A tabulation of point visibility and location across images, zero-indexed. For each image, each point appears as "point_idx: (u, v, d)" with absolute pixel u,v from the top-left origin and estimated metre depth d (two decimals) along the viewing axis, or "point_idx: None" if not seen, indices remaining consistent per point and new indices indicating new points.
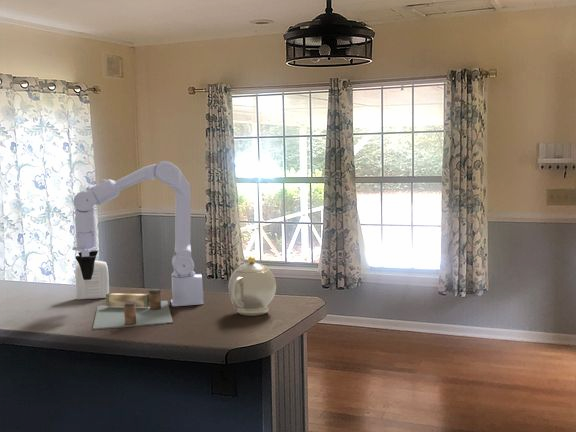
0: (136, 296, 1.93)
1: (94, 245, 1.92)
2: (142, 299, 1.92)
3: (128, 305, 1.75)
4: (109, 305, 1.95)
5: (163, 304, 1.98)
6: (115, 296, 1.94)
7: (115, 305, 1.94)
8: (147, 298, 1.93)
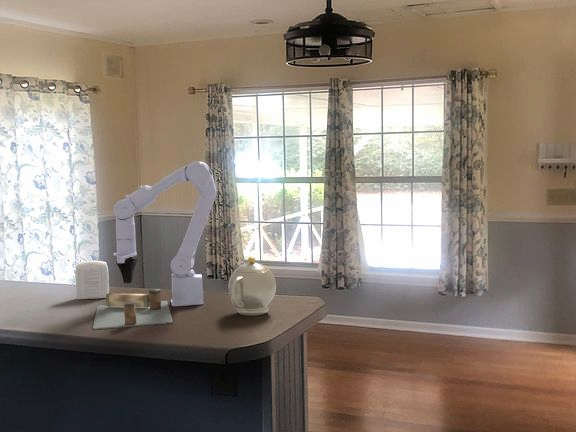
0: (136, 296, 1.93)
1: (132, 252, 1.97)
2: (142, 299, 1.92)
3: (128, 305, 1.75)
4: (109, 305, 1.95)
5: (163, 304, 1.98)
6: (115, 296, 1.94)
7: (115, 305, 1.94)
8: (147, 298, 1.93)
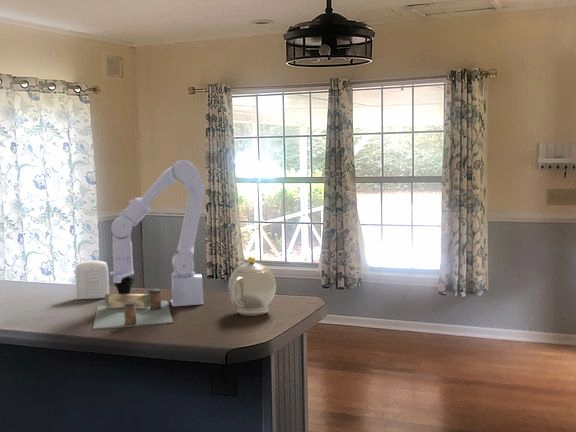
0: (136, 296, 1.93)
1: (129, 271, 1.94)
2: (142, 299, 1.92)
3: (128, 305, 1.75)
4: (108, 305, 1.94)
5: (163, 304, 1.98)
6: (114, 296, 1.94)
7: (114, 305, 1.94)
8: (147, 298, 1.93)
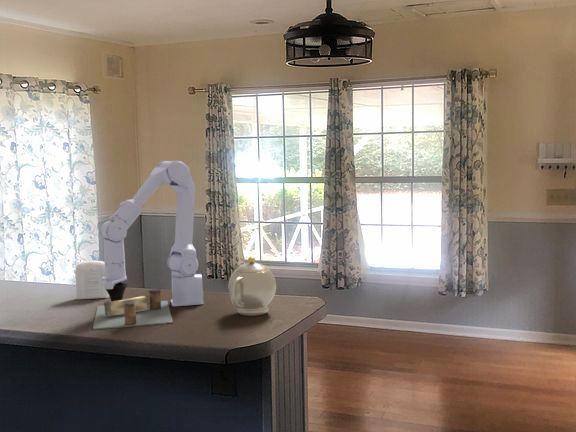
0: (139, 299, 1.89)
1: (122, 276, 1.86)
2: (145, 301, 1.90)
3: (128, 305, 1.75)
4: (111, 314, 1.83)
5: (163, 304, 1.98)
6: (117, 303, 1.84)
7: (117, 313, 1.85)
8: None
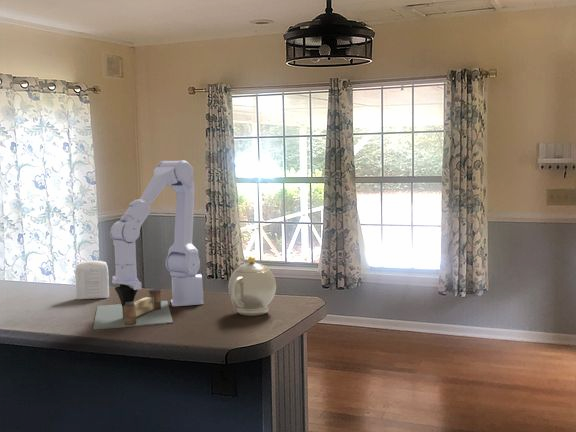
0: (148, 300, 1.87)
1: (136, 277, 1.83)
2: (151, 301, 1.89)
3: (128, 305, 1.75)
4: None
5: (163, 304, 1.98)
6: None
7: None
8: None
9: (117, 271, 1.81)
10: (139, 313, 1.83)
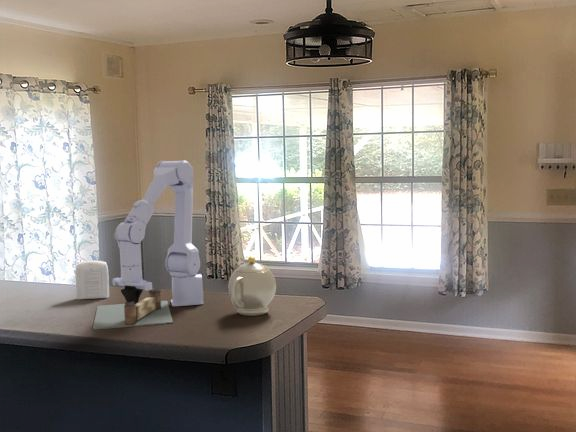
0: (151, 300, 1.87)
1: (141, 278, 1.83)
2: (153, 301, 1.89)
3: (128, 305, 1.75)
4: (139, 317, 1.79)
5: (163, 304, 1.98)
6: (141, 306, 1.81)
7: (142, 316, 1.81)
8: None
9: (124, 273, 1.79)
10: (145, 313, 1.83)
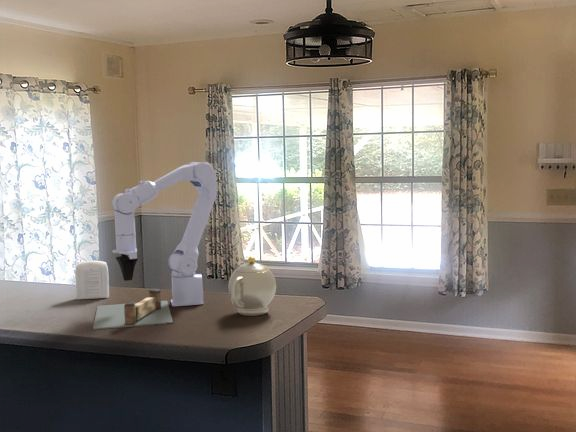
0: (151, 300, 1.87)
1: (135, 247, 1.90)
2: (153, 301, 1.89)
3: (128, 305, 1.75)
4: (139, 317, 1.79)
5: (163, 304, 1.98)
6: (141, 306, 1.81)
7: (142, 316, 1.81)
8: None
9: (116, 241, 1.89)
10: (145, 313, 1.83)
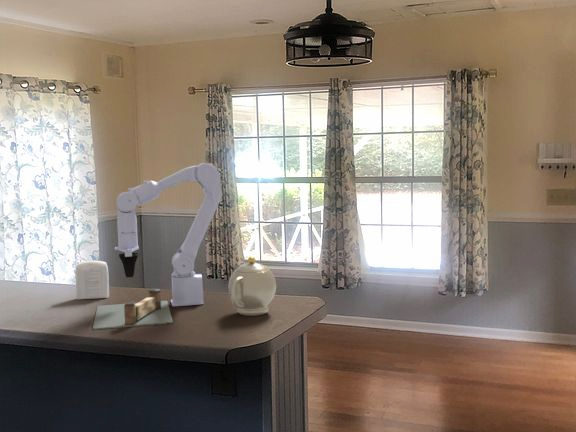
0: (151, 300, 1.87)
1: (136, 245, 1.94)
2: (153, 301, 1.89)
3: (128, 305, 1.75)
4: (139, 317, 1.79)
5: (163, 304, 1.98)
6: (141, 306, 1.81)
7: (142, 316, 1.81)
8: None
9: (118, 238, 1.94)
10: (145, 313, 1.83)
